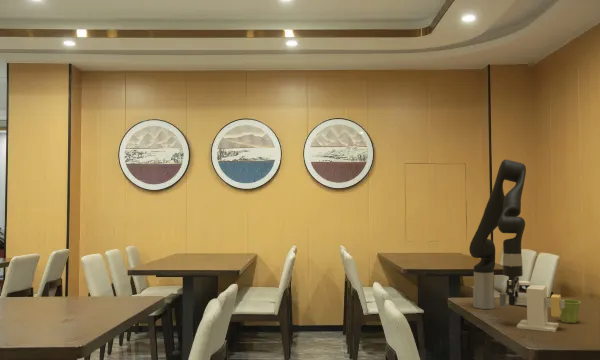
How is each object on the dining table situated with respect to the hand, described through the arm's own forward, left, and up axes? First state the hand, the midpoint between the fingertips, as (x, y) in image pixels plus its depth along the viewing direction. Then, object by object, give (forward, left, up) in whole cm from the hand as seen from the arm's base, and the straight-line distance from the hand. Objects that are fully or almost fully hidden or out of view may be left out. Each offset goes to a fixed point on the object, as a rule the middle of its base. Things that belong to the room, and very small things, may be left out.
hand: (513, 303), depth 220 cm
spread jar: (-2, +49, -9) cm, 50 cm away
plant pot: (+19, +17, -9) cm, 27 cm away
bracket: (+9, 0, -9) cm, 12 cm away
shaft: (+7, 0, -1) cm, 7 cm away
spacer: (+16, 0, +1) cm, 16 cm away
